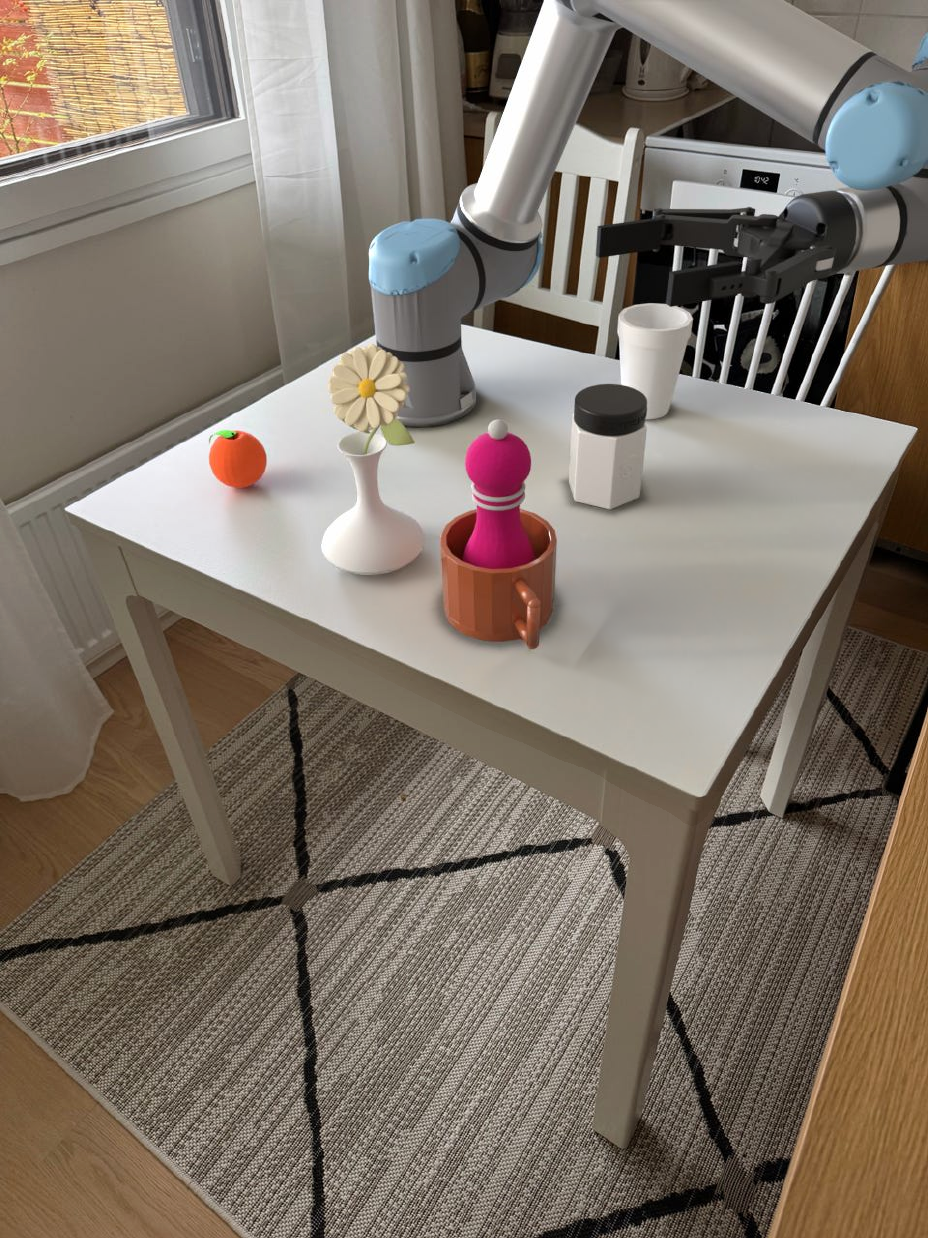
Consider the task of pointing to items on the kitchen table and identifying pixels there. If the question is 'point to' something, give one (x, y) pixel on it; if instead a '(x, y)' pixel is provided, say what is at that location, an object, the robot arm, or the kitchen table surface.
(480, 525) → the pepper mill
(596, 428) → the jar
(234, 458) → the clementine
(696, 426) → the kitchen table surface
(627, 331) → the foam cup
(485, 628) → the terracotta coffee mug
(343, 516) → the flower in vase
